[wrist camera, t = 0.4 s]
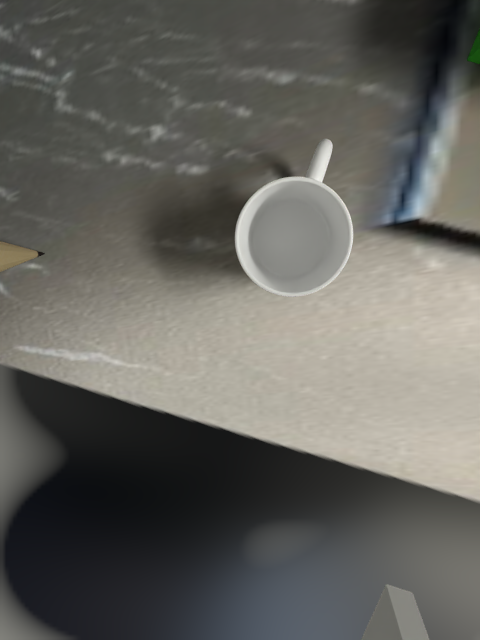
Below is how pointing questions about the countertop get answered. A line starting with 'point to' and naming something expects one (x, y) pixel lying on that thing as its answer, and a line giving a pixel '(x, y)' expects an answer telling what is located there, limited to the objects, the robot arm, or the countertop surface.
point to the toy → (475, 50)
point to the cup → (295, 232)
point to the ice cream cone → (15, 255)
